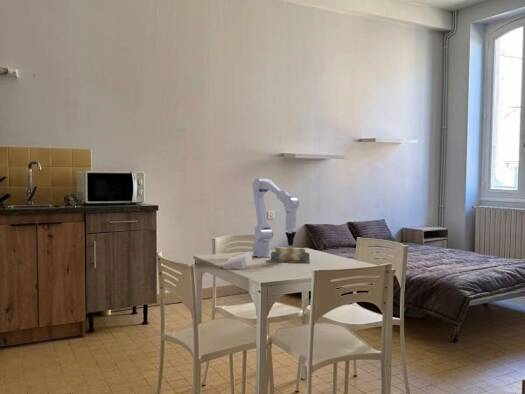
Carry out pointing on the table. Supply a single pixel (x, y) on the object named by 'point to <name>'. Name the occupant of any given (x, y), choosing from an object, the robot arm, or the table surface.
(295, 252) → the slat
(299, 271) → the table surface
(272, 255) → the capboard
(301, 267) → the table surface
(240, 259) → the decorative molding
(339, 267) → the table surface
